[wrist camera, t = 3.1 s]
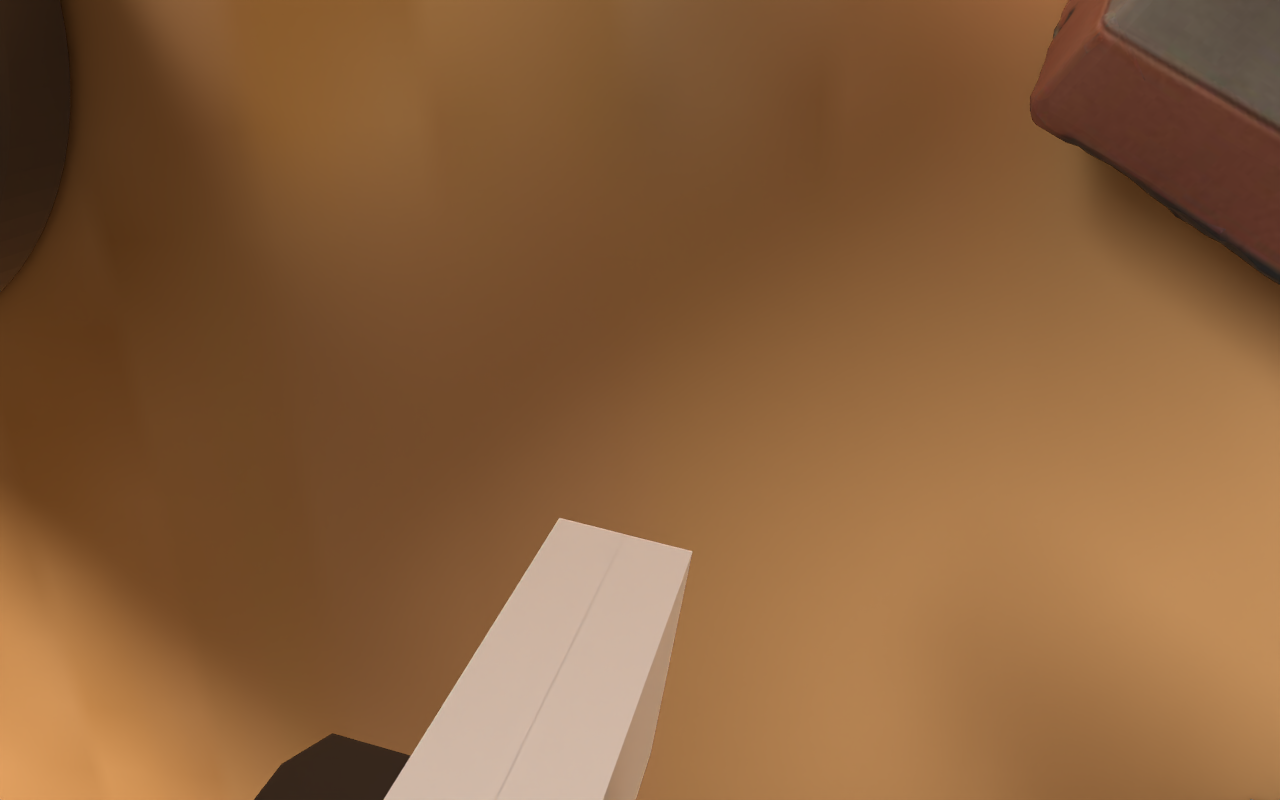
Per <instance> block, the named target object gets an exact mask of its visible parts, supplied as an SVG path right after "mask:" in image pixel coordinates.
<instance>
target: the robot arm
mask: <svg viewBox="0 0 1280 800" xmlns="http://www.w3.org/2000/svg"><path fill="white" fill-rule="evenodd" d="M69 120H70V70H69V55H68V47H67V39H66V31H65V25H64V19H63V14H62V9H61V3H60V0H0V292H1V291H2V290H3V289H4V288H5V287H6V286H7V284H8V283H9V282H10V281H11V280H12V279H13V277H14V276H15V275H16V274H17V272H18V271H19V270H20V268H21V267H22V266H23V264H24V263H25V261H26V260H27V258H28V256H29V255H30V253H31V252H32V250H33V249H34V247H35V245H36V243H37V241H38V239H39V237H40V235H41V233H42V231H43V229H44V227H45V224H46V222H47V220H48V217H49V215H50V212H51V210H52V207H53V204H54V201H55V197H56V194H57V191H58V188H59V184H60V180H61V176H62V171H63V167H64V162H65V156H66V149H67V142H68V134H69ZM692 552H693V551H690V550H686V549H682V548H678V547H674V546H670V545H666V544H662V543H658V542H654V541H650V540H646V539H642V538H638V537H634V536H630V535H626V534H622V533H618V532H614V531H610V530H606V529H602V528H598V527H594V526H590V525H586V524H582V523H579V522H575V521H571V520H567V519H563V518H559V519H558V521H557V522H556V524H555V525H554V527H553V529H552V530H551V532H550V533H549V535H548V537H547V538H546V540H545V542H544V543H543V545H542V546H541V548H540V550H539V551H538V553H537V554H536V556H535V558H534V559H533V561H532V562H531V564H530V566H529V567H528V569H527V570H526V572H525V574H524V575H523V577H522V578H521V580H520V582H519V583H518V585H517V586H516V588H515V590H514V591H513V593H512V594H511V596H510V598H509V599H508V601H507V602H506V604H505V606H504V607H503V609H502V610H501V612H500V614H499V615H498V617H497V619H496V620H495V622H494V623H493V625H492V627H491V628H490V630H489V631H488V633H487V635H486V636H485V638H484V639H483V641H482V643H481V644H480V646H479V647H478V649H477V651H476V652H475V654H474V655H473V657H472V659H471V660H470V662H469V663H468V665H467V667H466V668H465V670H464V671H463V673H462V675H461V676H460V678H459V679H458V681H457V683H456V684H455V686H454V687H453V689H452V691H451V692H450V694H449V696H448V697H447V699H446V700H445V702H444V704H443V705H442V707H441V708H440V710H439V712H438V713H437V715H436V716H435V718H434V720H433V721H432V723H431V724H430V726H429V728H428V729H427V731H426V732H425V734H424V736H423V737H422V739H421V740H420V742H419V744H418V745H417V747H416V748H415V750H414V752H413V753H412V755H411V756H409V755H406V754H402V753H399V752H395V751H392V750H388V749H385V748H381V747H378V746H374V745H371V744H367V743H364V742H361V741H357V740H354V739H350V738H347V737H343V736H340V735H336V734H333V733H332V734H331V735H329V736H327V737H326V738H324V739H322V740H321V741H319V742H317V743H316V744H314V745H312V746H311V747H309V748H307V749H306V750H304V751H303V752H301V753H299V754H298V755H296V756H294V757H293V758H291V759H289V760H288V761H286V762H284V763H283V764H281V766H280V767H279V768H278V769H277V771H276V772H275V773H274V775H273V776H272V777H271V778H270V780H269V781H268V782H267V784H266V785H265V786H264V787H263V789H262V790H261V791H260V793H259V794H258V795H257V796H256V798H255V799H254V800H636V798H637V795H638V792H639V789H640V785H641V782H642V779H643V776H644V773H645V770H646V767H647V764H648V761H649V757H650V754H651V750H652V745H653V740H654V735H655V731H656V726H657V721H658V716H659V711H660V707H661V702H662V697H663V692H664V687H665V682H666V678H667V673H668V668H669V663H670V658H671V653H672V649H673V644H674V639H675V634H676V629H677V625H678V620H679V615H680V610H681V605H682V600H683V596H684V591H685V586H686V581H687V576H688V572H689V567H690V562H691V557H692Z"/></svg>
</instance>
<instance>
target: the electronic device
mask: <svg viewBox="0 0 1280 800" xmlns="http://www.w3.org/2000/svg"><path fill="white" fill-rule="evenodd" d="M1030 112H1031V117H1032V120H1033V121H1034V123H1035V124H1036V125H1038V126H1039V127H1041V128H1043V129H1044V130H1046V131H1048V132H1049V133H1051V134H1053V135H1054V136H1056V137H1058V138H1059V139H1061V140H1063V141H1065V142H1067V143H1070V144H1073V145H1076V146H1079V147H1080V148H1082V149H1083V150H1084V151H1086V152H1087V153H1088V154H1090V155H1092V156H1094V157H1096V158H1098V159H1100V160H1102V161H1104V162H1106V163H1108V164H1110V165H1111V166H1113V167H1114V168H1116V169H1117V170H1119V171H1120V172H1121V173H1123V174H1124V175H1126V176H1127V177H1129V178H1130V179H1131V180H1132V181H1134V182H1135V183H1136V184H1137V185H1139V186H1140V187H1141V188H1142V189H1143V190H1144V191H1146V192H1147V193H1148V194H1149V195H1150V196H1152V197H1153V198H1154V199H1156V200H1157V201H1159V202H1160V203H1162V204H1163V205H1165V206H1166V207H1168V209H1169V210H1170V211H1171V212H1172V213H1173V214H1174V215H1175V216H1176V217H1178V218H1180V219H1181V220H1183V221H1185V222H1187V223H1188V224H1190V225H1192V226H1193V227H1195V228H1196V229H1197V230H1199V231H1200V232H1202V233H1203V234H1204V235H1206V236H1208V237H1210V238H1212V239H1214V240H1216V241H1218V242H1220V243H1221V244H1223V245H1224V246H1225V247H1227V248H1228V249H1230V250H1231V251H1232V252H1234V253H1235V254H1236V255H1238V256H1239V257H1240V258H1242V259H1243V260H1244V261H1246V262H1247V263H1248V264H1250V265H1251V266H1252V267H1254V268H1255V269H1256V270H1258V271H1259V272H1260V273H1262V274H1263V275H1264V276H1266V277H1268V278H1269V279H1271V280H1273V281H1274V282H1276V283H1278V284H1279V285H1280V0H1070V1H1069V2H1068V3H1067V5H1066V6H1065V8H1064V10H1063V12H1062V14H1061V20H1060V21H1059V23H1058V25H1057V26H1056V28H1055V30H1054V35H1053V41H1052V43H1051V45H1050V46H1049V48H1048V51H1047V55H1046V59H1045V62H1044V65H1043V67H1042V70H1041V72H1040V76H1039V80H1038V82H1037V84H1036V86H1035V88H1034V90H1033V92H1032V94H1031V97H1030Z"/></svg>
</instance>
